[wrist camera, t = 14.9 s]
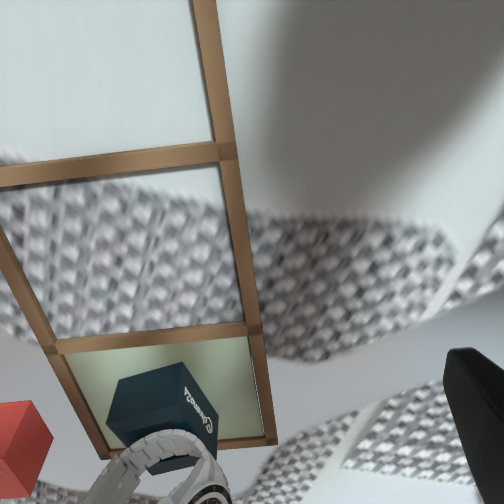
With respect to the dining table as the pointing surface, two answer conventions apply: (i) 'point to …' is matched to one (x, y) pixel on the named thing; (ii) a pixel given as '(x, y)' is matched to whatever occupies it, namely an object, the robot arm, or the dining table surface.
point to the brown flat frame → (173, 339)
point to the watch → (163, 439)
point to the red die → (21, 448)
